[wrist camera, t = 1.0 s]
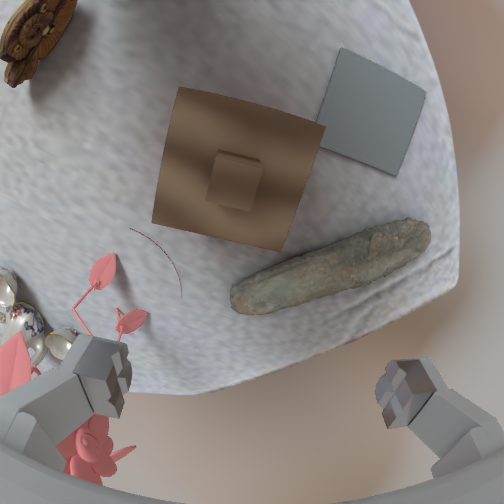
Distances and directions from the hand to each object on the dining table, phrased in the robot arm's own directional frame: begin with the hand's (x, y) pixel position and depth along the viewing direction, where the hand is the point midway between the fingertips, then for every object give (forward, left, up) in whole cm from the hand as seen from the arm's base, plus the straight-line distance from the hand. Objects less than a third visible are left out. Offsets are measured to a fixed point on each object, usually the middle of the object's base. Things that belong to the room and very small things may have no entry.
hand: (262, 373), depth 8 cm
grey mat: (-10, +15, -33) cm, 38 cm away
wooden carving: (-12, -31, -34) cm, 47 cm away
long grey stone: (+13, +19, -34) cm, 41 cm away
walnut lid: (+1, -1, -23) cm, 23 cm away
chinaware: (+40, -35, -34) cm, 63 cm away
